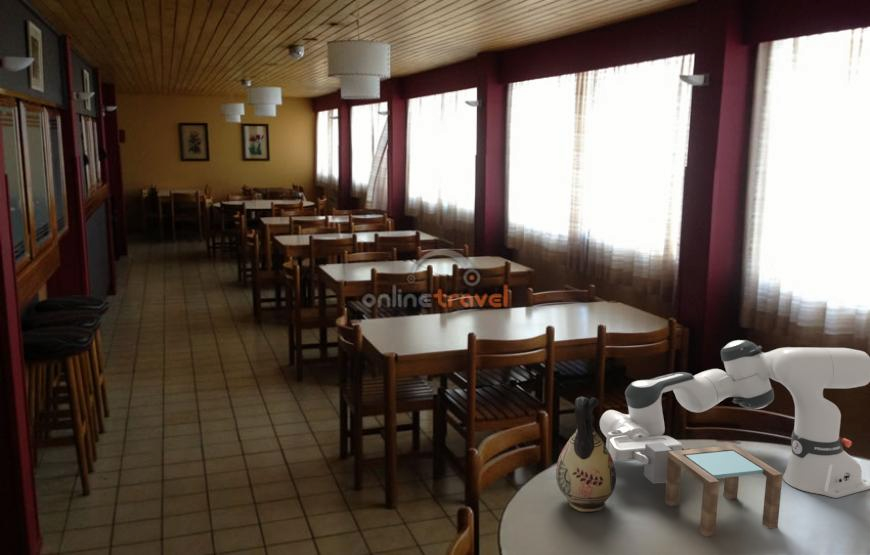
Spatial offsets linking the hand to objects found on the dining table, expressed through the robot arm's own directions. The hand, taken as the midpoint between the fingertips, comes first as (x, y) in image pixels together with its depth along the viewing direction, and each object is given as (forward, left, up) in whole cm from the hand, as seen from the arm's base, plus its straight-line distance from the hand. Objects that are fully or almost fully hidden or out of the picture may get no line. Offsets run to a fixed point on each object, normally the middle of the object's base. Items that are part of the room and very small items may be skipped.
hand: (659, 460), depth 196 cm
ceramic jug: (+22, +1, -10) cm, 24 cm away
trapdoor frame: (-10, +13, -10) cm, 19 cm away
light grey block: (0, -1, -6) cm, 6 cm away
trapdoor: (-10, +13, +3) cm, 17 cm away
